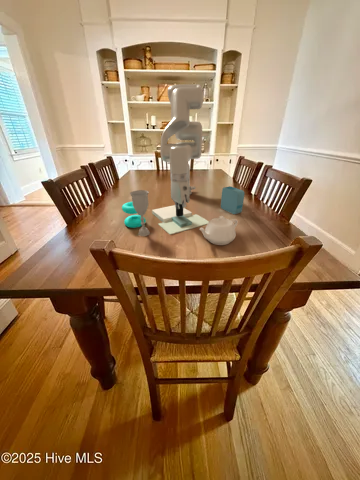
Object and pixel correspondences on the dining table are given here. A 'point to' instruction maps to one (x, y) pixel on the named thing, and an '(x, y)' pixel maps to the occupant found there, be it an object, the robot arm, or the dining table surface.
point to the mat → (174, 228)
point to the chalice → (141, 208)
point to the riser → (168, 213)
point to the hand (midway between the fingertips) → (179, 215)
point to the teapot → (220, 230)
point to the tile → (181, 221)
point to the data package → (232, 200)
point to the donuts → (132, 216)
